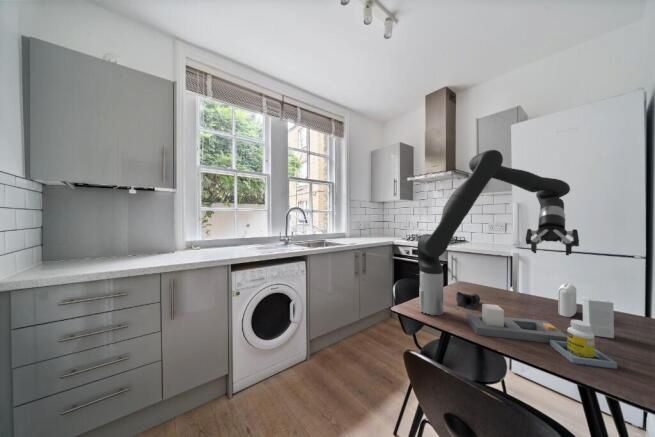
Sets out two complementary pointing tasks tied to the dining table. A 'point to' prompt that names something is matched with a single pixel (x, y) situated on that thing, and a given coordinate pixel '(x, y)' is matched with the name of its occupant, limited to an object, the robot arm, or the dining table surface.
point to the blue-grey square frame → (580, 360)
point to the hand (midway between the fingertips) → (550, 252)
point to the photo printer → (567, 300)
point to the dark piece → (467, 300)
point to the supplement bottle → (580, 340)
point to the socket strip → (512, 326)
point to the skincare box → (599, 316)
